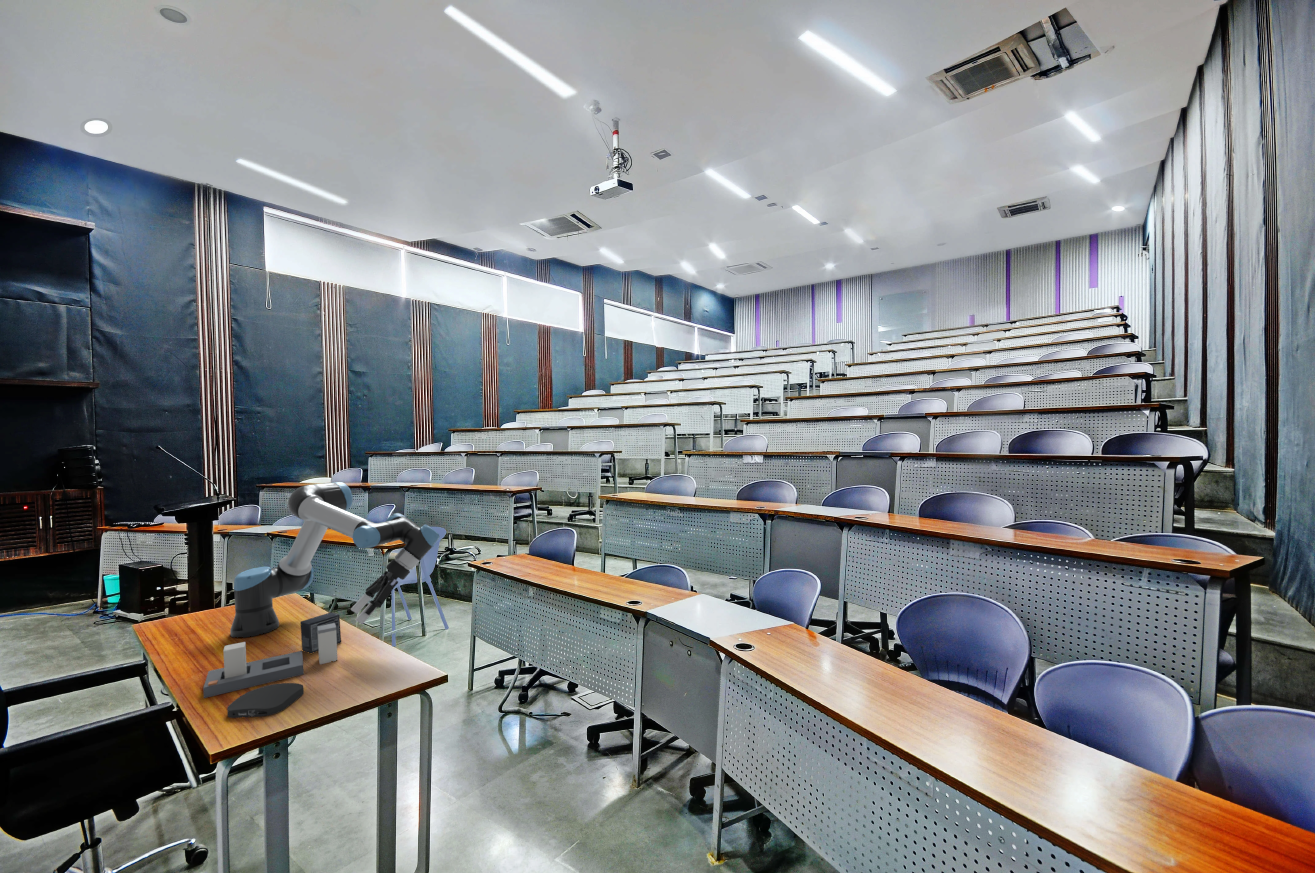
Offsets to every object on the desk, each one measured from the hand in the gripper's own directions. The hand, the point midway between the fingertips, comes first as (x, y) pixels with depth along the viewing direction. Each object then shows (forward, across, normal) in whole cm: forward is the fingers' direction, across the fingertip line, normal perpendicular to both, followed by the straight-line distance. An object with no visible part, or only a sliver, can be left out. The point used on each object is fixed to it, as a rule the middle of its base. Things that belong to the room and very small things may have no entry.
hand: (356, 616), depth 184 cm
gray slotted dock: (+28, 0, +11) cm, 30 cm away
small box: (+16, +16, -2) cm, 22 cm away
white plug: (+15, +1, -3) cm, 15 cm away
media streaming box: (+27, -23, +8) cm, 36 cm away
